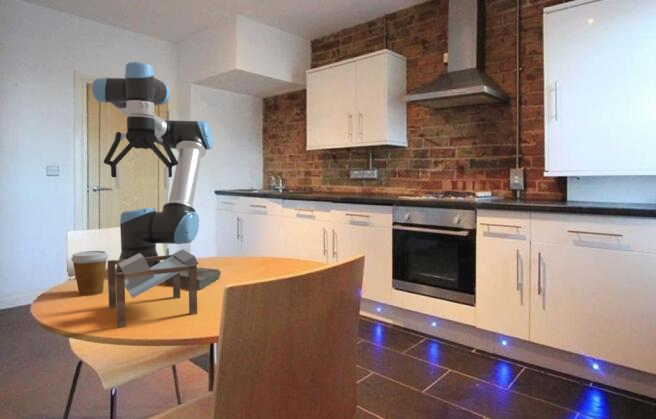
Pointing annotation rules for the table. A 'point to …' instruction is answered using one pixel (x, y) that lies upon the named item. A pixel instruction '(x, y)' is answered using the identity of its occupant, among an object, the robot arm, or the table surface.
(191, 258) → the trapdoor
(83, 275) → the disposable coffee cup
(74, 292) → the table surface
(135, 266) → the granite block
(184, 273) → the marble piece
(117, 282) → the walnut frame
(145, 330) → the table surface
